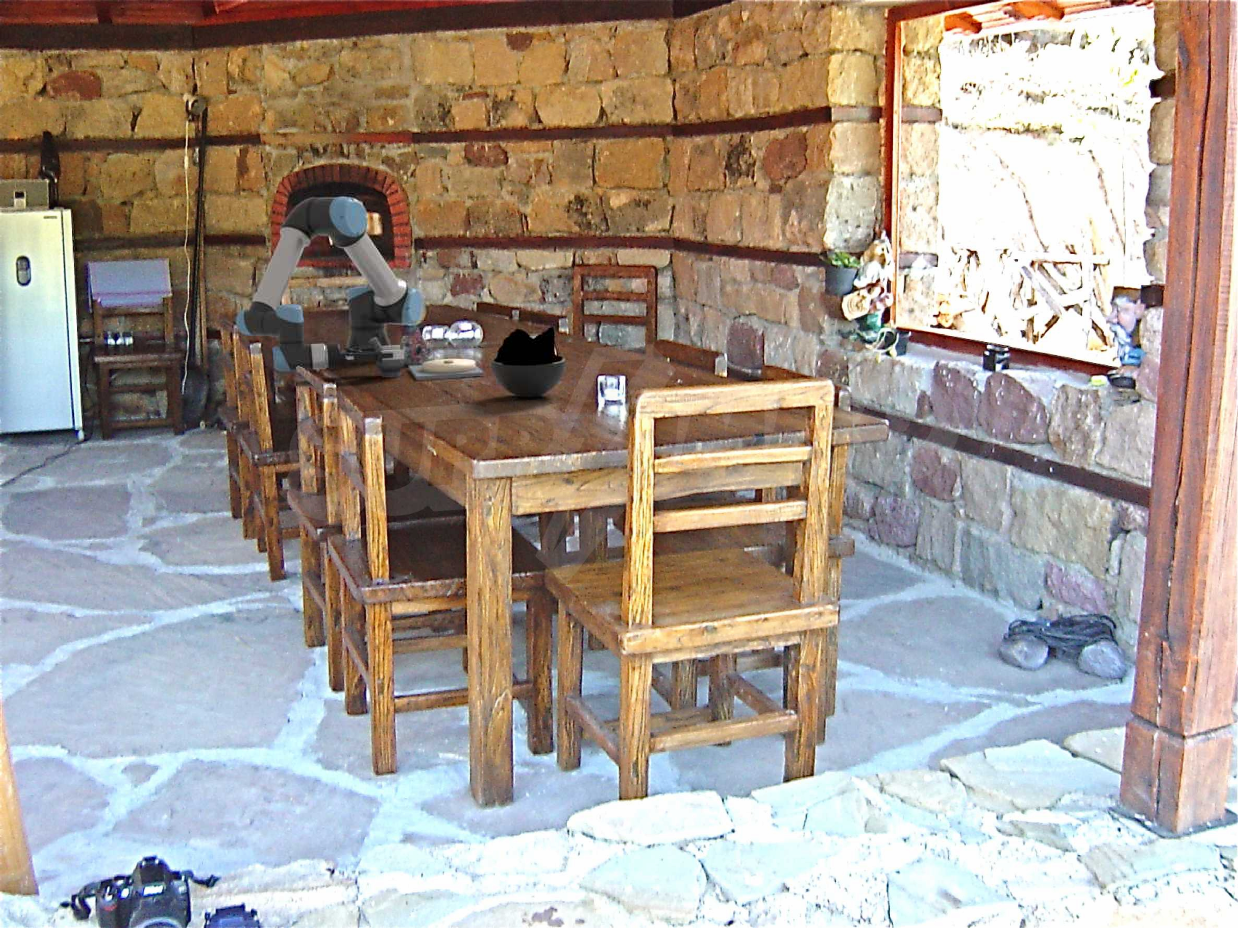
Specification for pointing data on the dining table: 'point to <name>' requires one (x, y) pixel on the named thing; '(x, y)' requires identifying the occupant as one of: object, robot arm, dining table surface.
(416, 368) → the carrier board
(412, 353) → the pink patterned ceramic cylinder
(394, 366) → the mortar and pestle
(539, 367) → the coal bowl
